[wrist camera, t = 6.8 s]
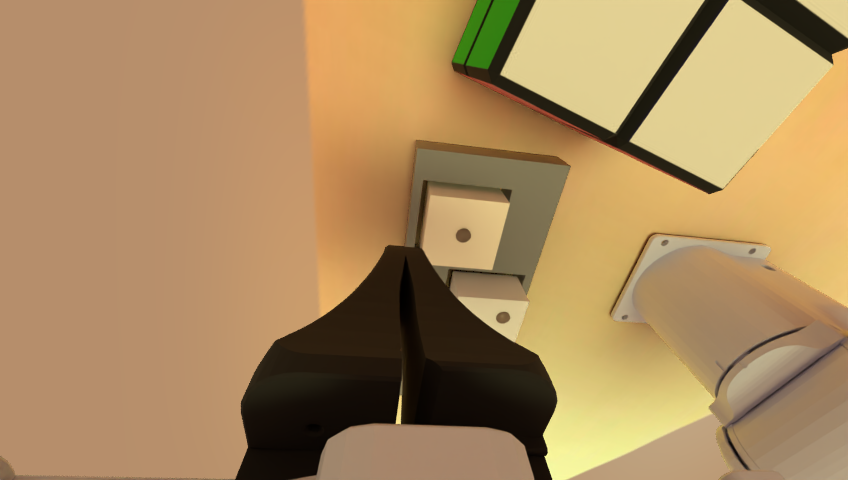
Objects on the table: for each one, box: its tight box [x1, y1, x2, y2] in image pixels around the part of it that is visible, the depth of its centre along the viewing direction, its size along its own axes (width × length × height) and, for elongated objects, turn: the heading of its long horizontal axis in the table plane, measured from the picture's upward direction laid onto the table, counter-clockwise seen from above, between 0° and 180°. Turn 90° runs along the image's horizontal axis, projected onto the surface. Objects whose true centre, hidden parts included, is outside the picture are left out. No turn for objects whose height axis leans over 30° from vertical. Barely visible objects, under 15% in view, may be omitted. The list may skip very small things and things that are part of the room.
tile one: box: [419, 181, 510, 270], centre depth 21 cm, size 5×5×3 cm
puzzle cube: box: [452, 0, 848, 194], centre depth 13 cm, size 10×10×10 cm
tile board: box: [400, 140, 571, 395], centre depth 25 cm, size 9×21×2 cm, turn 173°
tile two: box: [449, 271, 529, 342], centre depth 23 cm, size 5×5×3 cm
